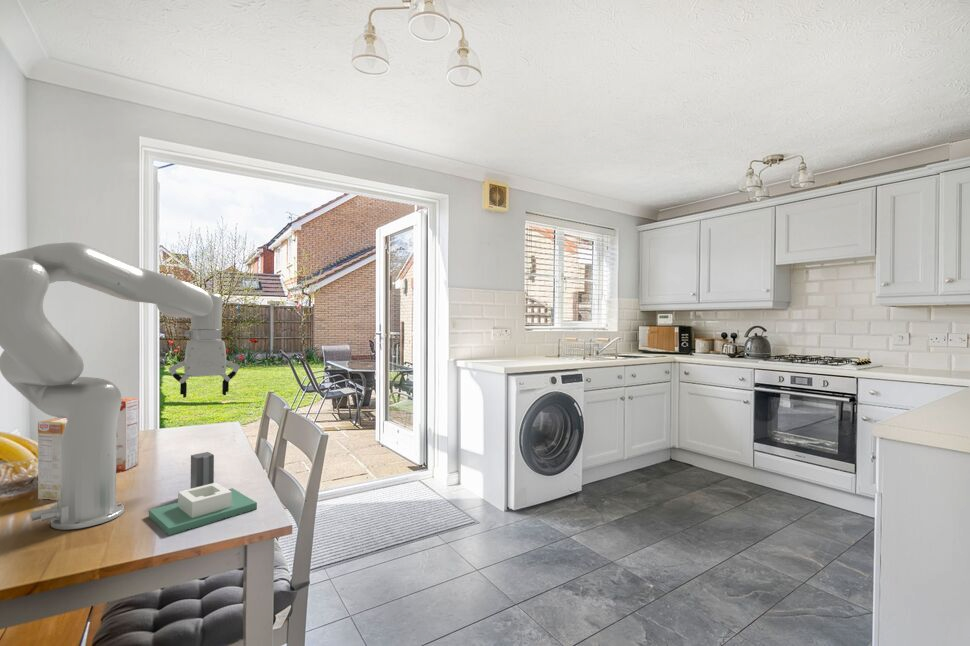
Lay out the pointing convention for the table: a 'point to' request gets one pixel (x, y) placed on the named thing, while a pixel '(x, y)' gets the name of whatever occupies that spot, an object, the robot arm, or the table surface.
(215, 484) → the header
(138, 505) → the table surface
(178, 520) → the board
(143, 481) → the table surface
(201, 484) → the plug
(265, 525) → the table surface
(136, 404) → the cracker box
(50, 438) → the coffeecake box
